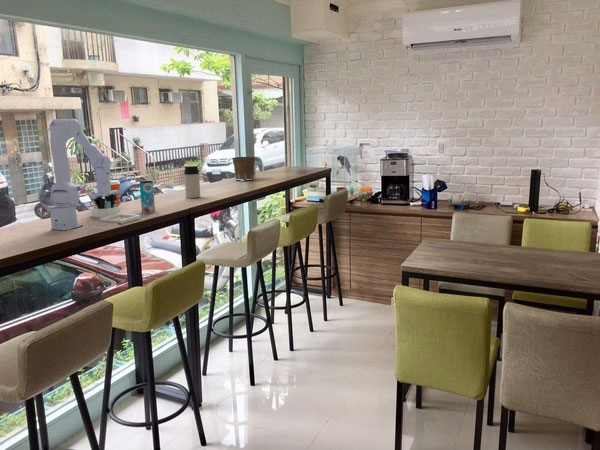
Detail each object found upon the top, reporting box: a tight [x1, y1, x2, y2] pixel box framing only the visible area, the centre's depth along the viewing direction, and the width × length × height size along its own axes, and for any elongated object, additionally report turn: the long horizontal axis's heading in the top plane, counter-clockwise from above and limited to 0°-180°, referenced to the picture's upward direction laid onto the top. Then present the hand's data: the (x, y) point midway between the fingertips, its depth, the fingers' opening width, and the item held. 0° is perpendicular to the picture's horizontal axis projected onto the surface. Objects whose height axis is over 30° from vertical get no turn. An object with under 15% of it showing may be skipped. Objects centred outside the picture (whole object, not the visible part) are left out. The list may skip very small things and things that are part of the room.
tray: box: [99, 213, 142, 225], centre depth 219 cm, size 12×12×2 cm
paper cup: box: [110, 179, 121, 205], centre depth 247 cm, size 8×8×14 cm
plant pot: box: [231, 156, 256, 180], centre depth 351 cm, size 16×16×16 cm
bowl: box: [90, 204, 123, 219], centre depth 230 cm, size 13×13×4 cm
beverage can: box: [139, 180, 156, 214], centre depth 235 cm, size 6×6×15 cm
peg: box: [105, 200, 111, 209], centre depth 229 cm, size 4×4×6 cm
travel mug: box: [183, 164, 201, 199], centre depth 280 cm, size 8×8×18 cm
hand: (106, 212), depth 230 cm, fingers closed on peg, 4 cm apart
